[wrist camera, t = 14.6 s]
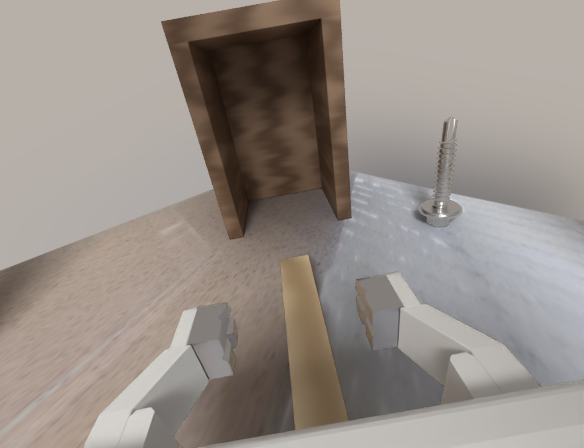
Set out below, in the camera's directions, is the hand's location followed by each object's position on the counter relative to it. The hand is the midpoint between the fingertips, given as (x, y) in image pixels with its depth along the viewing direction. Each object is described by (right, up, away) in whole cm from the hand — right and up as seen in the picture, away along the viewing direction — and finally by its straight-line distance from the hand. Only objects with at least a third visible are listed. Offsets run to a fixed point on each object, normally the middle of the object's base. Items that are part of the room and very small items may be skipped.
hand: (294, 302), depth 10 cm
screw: (+19, +3, +25) cm, 32 cm away
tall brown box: (-1, +6, +36) cm, 37 cm away
